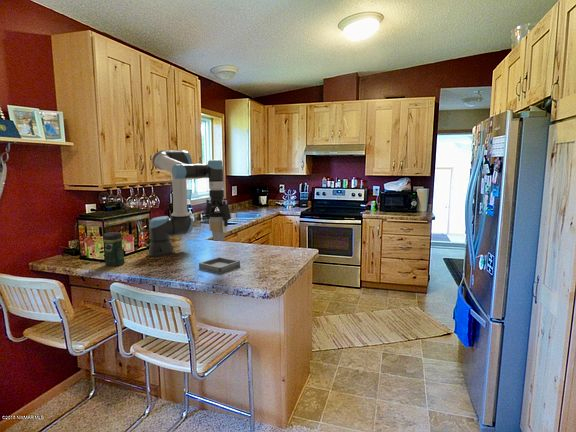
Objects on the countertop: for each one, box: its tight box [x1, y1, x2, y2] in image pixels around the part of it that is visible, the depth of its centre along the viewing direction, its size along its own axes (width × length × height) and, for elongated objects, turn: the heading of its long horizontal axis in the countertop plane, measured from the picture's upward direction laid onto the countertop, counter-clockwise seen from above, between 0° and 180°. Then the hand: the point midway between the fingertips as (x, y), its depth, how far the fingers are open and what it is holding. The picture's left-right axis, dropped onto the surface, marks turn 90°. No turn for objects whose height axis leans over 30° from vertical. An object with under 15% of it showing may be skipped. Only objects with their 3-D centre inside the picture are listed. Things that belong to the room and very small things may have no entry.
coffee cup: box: [209, 210, 226, 242], centre depth 184 cm, size 9×9×15 cm
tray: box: [198, 256, 241, 274], centre depth 187 cm, size 16×15×3 cm
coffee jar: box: [102, 231, 125, 267], centre depth 194 cm, size 10×8×19 cm
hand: (218, 231), depth 185 cm, fingers closed on coffee cup, 9 cm apart
